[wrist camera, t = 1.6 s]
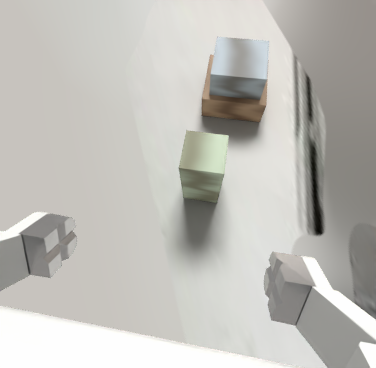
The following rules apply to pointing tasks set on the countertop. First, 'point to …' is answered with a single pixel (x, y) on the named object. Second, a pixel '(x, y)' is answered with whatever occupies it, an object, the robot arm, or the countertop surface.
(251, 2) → the countertop surface
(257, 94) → the pedestal
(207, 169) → the green brick
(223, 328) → the countertop surface
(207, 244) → the countertop surface
